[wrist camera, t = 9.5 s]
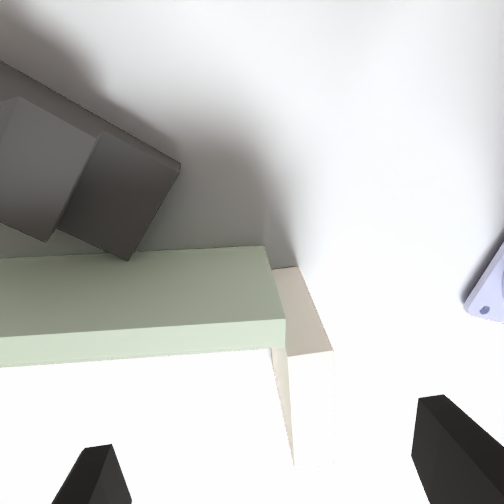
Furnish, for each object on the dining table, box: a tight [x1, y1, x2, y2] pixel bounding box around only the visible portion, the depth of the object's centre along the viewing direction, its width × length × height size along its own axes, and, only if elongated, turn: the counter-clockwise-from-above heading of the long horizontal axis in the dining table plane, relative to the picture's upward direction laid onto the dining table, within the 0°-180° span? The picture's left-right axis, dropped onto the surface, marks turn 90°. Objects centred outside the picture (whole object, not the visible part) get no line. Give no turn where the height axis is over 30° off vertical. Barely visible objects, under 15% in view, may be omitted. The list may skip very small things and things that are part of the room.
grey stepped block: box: [0, 61, 181, 261], centre depth 15 cm, size 8×4×4 cm, turn 57°
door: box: [0, 246, 286, 368], centre depth 16 cm, size 14×2×6 cm, turn 90°
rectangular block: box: [271, 266, 333, 470], centre depth 14 cm, size 28×2×6 cm, turn 5°
